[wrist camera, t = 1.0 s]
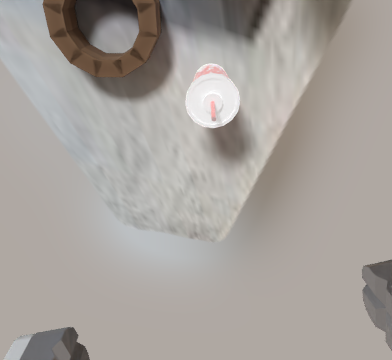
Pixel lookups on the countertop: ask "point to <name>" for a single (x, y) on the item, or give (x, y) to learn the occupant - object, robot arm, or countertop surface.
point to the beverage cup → (212, 97)
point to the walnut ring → (93, 57)
